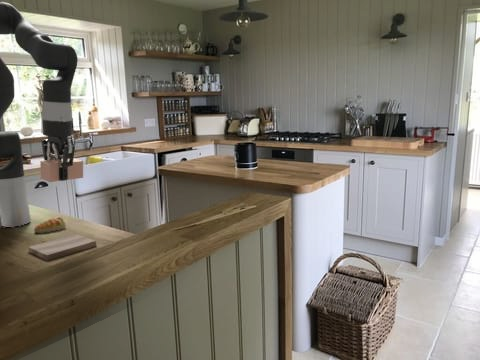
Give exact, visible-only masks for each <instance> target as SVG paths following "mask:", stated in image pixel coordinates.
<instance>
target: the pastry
mask: <svg viewBox="0 0 480 360" xmlns="http://www.w3.org/2000/svg"><path fill="white" fill-rule="evenodd" d="M66 227H67V226H66V222H65V221H64V218H63V217H61V216H60V217H56V218H51V219H47V220H46V221H44V222H41V223H39V224H38V225H36V226H35V227H34V229H33V230H34V233H37V234H44V233H45V232H46V233H52V232H51V231H53V232H57V231H60V230H61V229H62V230H65V229H66ZM56 230H57V231H56Z"/></svg>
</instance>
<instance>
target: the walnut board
mask: <svg viewBox="0 0 480 360" xmlns="http://www.w3.org/2000/svg"><path fill="white" fill-rule="evenodd" d="M96 246H97V240H94V239H91V238H88V237H85V236H82V235H80V234H77V233H75V234H74V233H73V234H71V235H67V236H64V237H60V238H56V239H52V240H48V241H44V242H42V243H37V244H33V245H31V246H27V247H28V252H29V253H30V254H31V255H32V254H33V255H34V256H37V257H39V258H41V259H43V260H45V261H50V260H51V261H52V260H55V259H59V258H61V257H64V256H68V255H71V254H74V253H77V252H80V251H84V250H88V249H91V248H94V247H96Z"/></svg>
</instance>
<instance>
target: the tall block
mask: <svg viewBox="0 0 480 360" xmlns="http://www.w3.org/2000/svg"><path fill="white" fill-rule="evenodd" d="M62 161H63V159H62ZM68 161H69V159H68ZM59 168H60V167H59V163H58V160H41V161H40V179H41V180H43V181H45V182H49V183H53V182H61V180H59ZM83 178H84V161H83V160H81V159H78V158H74V159H73V165H72V166H69V167H68V179H67V180H66V181H68V180H69V181H70V180H76V179H83Z"/></svg>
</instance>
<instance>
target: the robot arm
mask: <svg viewBox="0 0 480 360" xmlns="http://www.w3.org/2000/svg"><path fill="white" fill-rule="evenodd" d="M0 35H3V36H4V35H6V36H7V35H14V38H15V42H16V43H17V45H18V46H19V47H20V49H22V50H23V51H24V52H27V54H29V55H30V56H31V58H32V60H33V61H34V62H35V64H36V65H37V66H38V67H40V68H42V69H44V70H45V69H46V70H51V71H58V72H57V74H56V75H55V77H54V78H48V79H45V80H44V81H43V83H42V107H41V119H42V123H41V124H42V135H43V136H45V137H47V139H41V146H42V153H43V154H42V155H43V161H47V160H58V163H59V167H60V168H59V180H61V181H62V182H63V181H64V182H65V181H68V180H67V179H68V167H69V166H72V165H73V159H74V157H75V147H76V146H75V145H70V144H69V139H68V138H69V137H72V135H73V108H72V86H73V85H72V84H73V80H74V77H75V73H76V71H77V66H78V60H79V59H78V55H77V52H76V50H75V48H74V47H73V46H72V45H69V44H64V43H59V42H53V40H52V38H50V37H49V36H48V34H46V33H45V32H42V31H41V30H39V29H37V28H36V27H35V26H34V25H32V24H31V23H30V22H29V21H28V20H27V19H26V18H25V16H24V15H23V14H22V13H21V12H20V11H19V10H18V9H17V8H16V7H15V6H14V5H12V4H11V3H8V2H4V1H0ZM14 99H15V79H14V75H13V73H12V72H11V70H10V69H9V67H8V66H7V65H6V63H5V62H4V60H3V59H2V58H1V57H0V120H1V119H2V118H3V116H4V114H5V113H6V112H7V110H8V109H9V108H10V106H11V104H12V103H13V101H14ZM22 150H23V149H22V140H21V136H20V134H19V133H18V132H17V131H15V130H11V131H10V130H7V131H0V160H1V159H10V160H9V161H8V163H6V164H4V166H2V167H0V221H1V222H0V223H1V227H2V226H5V227H11V228H16V227H15V226H19V227H22V226H21V225H23V226H25V225H24V224H27V223H29V222H30V221H31V222H32V220H31V219H32V218H31V213H30V206H29V197H28V191H27V185H26V177H25V169H24V161H23V151H22ZM62 159H63V161H62ZM68 159H69V161H68ZM61 181H60V182H61ZM29 224H30V223H29ZM27 225H28V224H27ZM5 227H4V228H5Z"/></svg>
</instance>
